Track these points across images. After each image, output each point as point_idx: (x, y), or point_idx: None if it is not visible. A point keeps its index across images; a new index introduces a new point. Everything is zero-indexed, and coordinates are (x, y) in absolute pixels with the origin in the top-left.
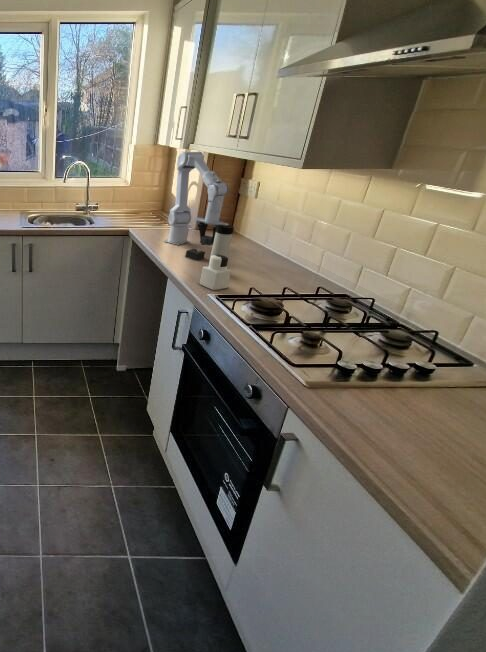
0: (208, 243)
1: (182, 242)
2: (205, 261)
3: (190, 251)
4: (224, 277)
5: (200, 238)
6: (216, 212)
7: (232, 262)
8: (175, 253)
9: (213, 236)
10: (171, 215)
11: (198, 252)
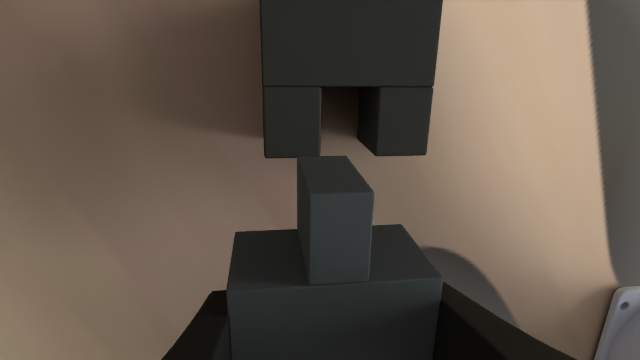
0: (264, 242)
1: (607, 357)
2: (179, 39)
3: (390, 3)
4: None
5: None
6: None
7: (5, 249)
8: (539, 35)
9: (191, 353)
10: None
11: (298, 53)
